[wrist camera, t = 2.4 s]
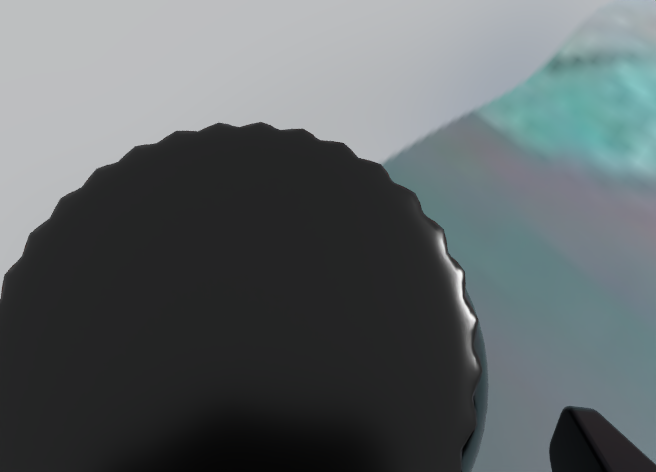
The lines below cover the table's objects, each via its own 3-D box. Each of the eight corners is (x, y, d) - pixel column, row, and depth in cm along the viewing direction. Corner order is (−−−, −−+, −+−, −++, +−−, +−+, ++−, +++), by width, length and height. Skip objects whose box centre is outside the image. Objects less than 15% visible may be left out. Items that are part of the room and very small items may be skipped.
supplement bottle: (168, 386, 16) (-286, 356, 5) (309, 239, 17) (228, -64, 6) (321, 551, 14) (201, 1147, 3) (464, 373, 16) (760, 303, 4)
